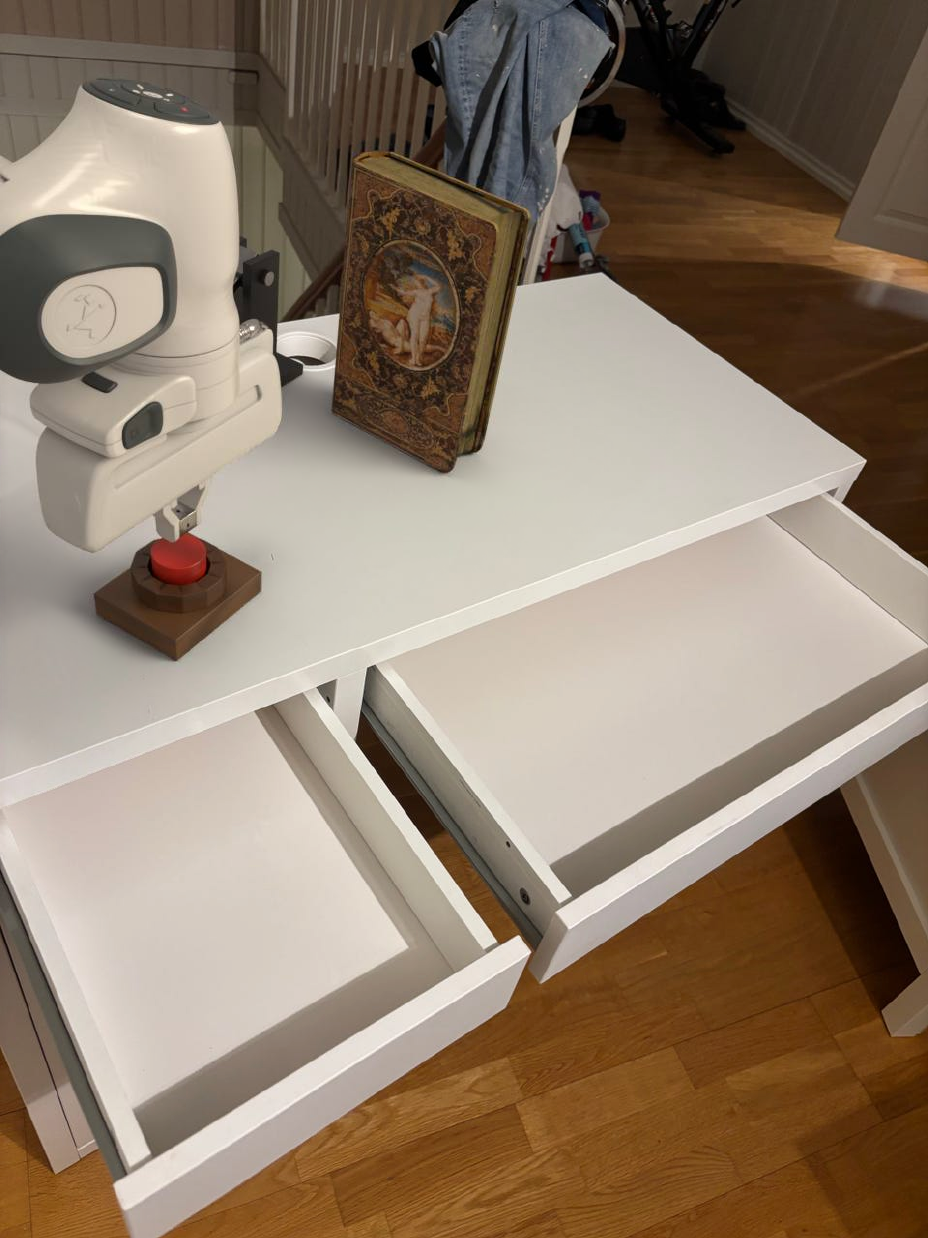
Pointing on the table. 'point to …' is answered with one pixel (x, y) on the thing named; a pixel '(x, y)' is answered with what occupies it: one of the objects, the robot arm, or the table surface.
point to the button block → (177, 600)
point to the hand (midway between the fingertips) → (179, 529)
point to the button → (178, 560)
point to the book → (424, 306)
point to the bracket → (264, 303)
